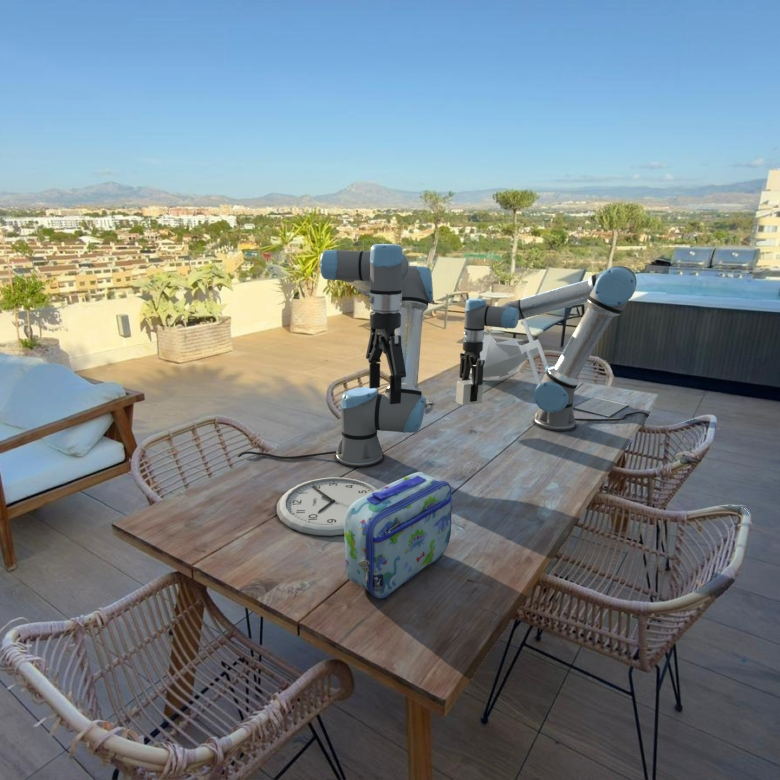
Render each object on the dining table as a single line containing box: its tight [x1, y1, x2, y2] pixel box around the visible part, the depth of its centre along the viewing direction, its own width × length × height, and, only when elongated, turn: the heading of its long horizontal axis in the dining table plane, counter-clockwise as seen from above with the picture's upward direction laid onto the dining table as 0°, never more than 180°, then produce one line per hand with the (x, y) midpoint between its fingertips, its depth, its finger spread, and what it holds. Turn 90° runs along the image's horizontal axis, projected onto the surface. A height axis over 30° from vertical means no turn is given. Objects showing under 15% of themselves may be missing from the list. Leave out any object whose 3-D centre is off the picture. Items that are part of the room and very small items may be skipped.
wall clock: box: [276, 476, 379, 537], centre depth 142 cm, size 30×2×30 cm
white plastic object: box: [469, 318, 549, 387], centre depth 256 cm, size 37×45×31 cm
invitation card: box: [573, 396, 629, 418], centre depth 226 cm, size 21×1×15 cm
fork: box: [425, 396, 435, 409], centre depth 223 cm, size 3×16×2 cm, turn 160°
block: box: [455, 379, 484, 406], centre depth 203 cm, size 5×9×8 cm, turn 115°
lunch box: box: [343, 471, 453, 599], centre depth 113 cm, size 26×11×21 cm, turn 134°
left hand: (384, 395), depth 132 cm, fingers open, 13 cm apart
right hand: (469, 398), depth 204 cm, fingers closed on block, 5 cm apart
